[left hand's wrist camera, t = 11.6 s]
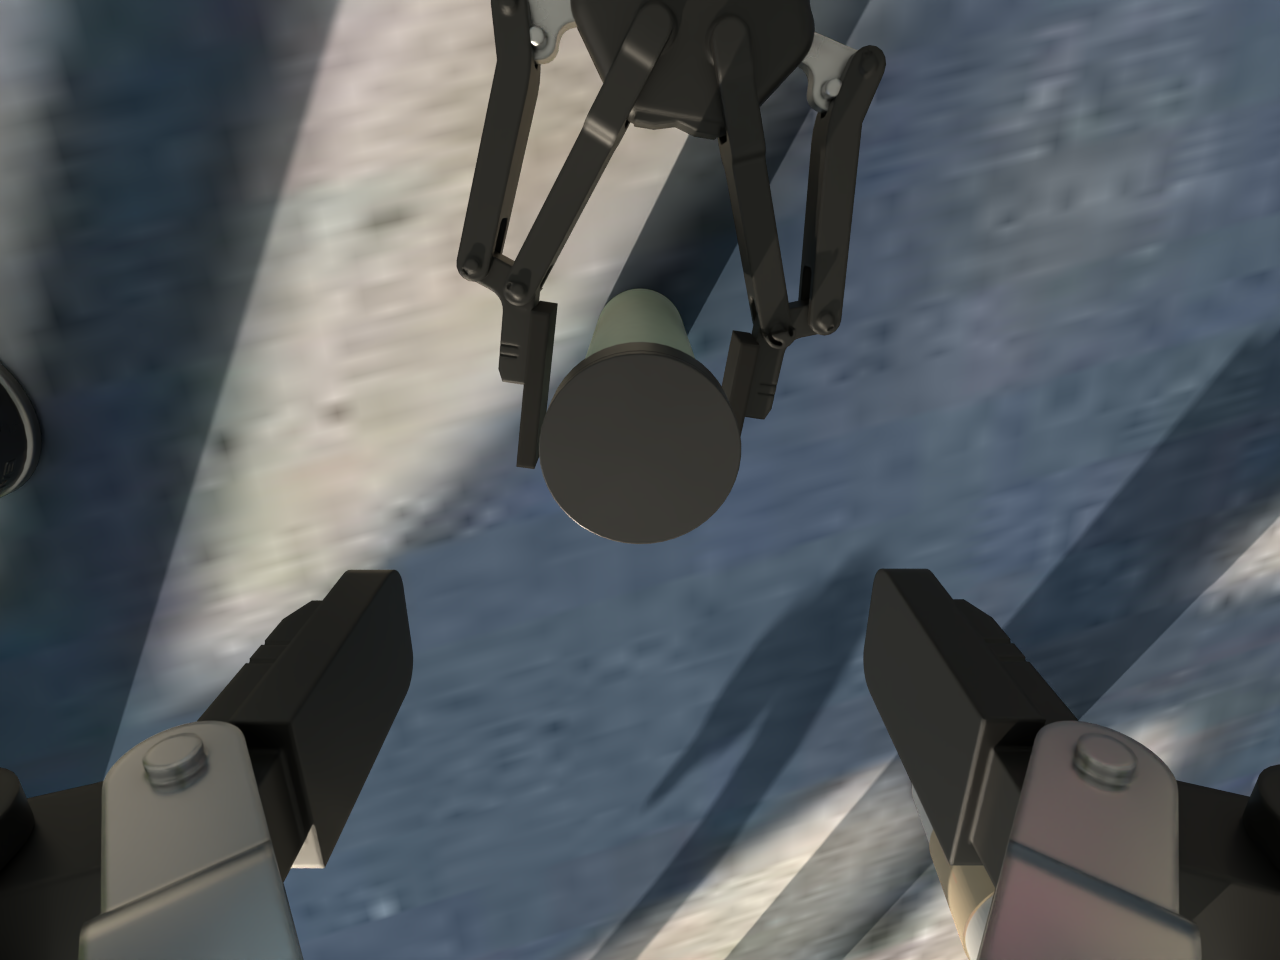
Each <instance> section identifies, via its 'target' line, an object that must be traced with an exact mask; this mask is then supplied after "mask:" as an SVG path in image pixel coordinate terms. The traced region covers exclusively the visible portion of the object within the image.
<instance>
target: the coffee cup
mask: <svg viewBox="0 0 1280 960" xmlns="http://www.w3.org/2000/svg"><path fill="white" fill-rule="evenodd" d="M912 797H913V800H914V803H915V805H916V808H917V811H918V814H919V817H920V819H921V822H922V825H923V828H924V831H925V833H926V836H927V839H928V842H929V848H930V854H931V857H932V860H933V863H934V865H935V868H936V871H937V874H938V877H939V880H940V882H941V885H942V888H943V891H944V894H945V897H946V900H947V902H948V905H949V908H950V911H951V914H952V917H953V919H954V922H955V925H956V928H957V931H958V934H959V936H960V939H961V942H962V945H963V948H964V951H965V953H966V955H967V957H968V959H969V960H977V956H978V952H979V948H980V945H981V941H982V937H983V933H984V929H985V925H986V921H987V918H988V914H989V910H990V906H991V902H992V898H993V895H994V891H995V887H994V885H993V883H992V881H991V879H990V877H989V875H988V873H987V871H986V870H985V868H984V866H950V864H949V862H948V860H947V858H946V856H945V853H944V851H943V849H942V847H941V845H940V843H939V840H938V838H937V836H936V834H935V832H934V830H933V828H932V825H931V823H930V821H929V819H928V817H927V815H926V812H925V810H924V808H923V806H922V804H921V802H920V799H919V797H918V795H917V793H916V791H915V789H914V787H913V784H912Z"/></svg>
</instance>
